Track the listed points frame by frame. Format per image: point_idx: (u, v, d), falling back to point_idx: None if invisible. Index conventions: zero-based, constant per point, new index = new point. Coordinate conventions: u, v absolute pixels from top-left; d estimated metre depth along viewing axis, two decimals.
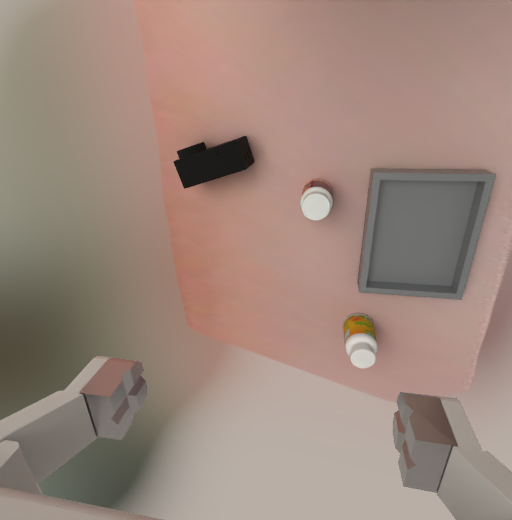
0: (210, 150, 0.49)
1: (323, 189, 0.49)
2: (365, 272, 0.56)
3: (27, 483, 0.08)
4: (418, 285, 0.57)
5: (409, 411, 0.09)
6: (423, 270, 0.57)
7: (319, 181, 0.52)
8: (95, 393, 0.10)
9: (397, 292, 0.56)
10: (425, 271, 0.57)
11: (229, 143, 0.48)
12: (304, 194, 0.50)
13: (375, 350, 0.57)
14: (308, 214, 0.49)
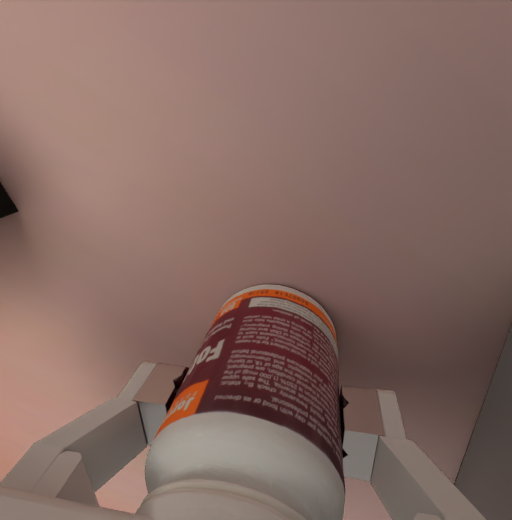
0: None
1: (279, 444, 0.07)
2: None
3: (88, 495, 0.08)
4: None
5: (346, 403, 0.09)
6: None
7: (274, 316, 0.10)
8: (149, 401, 0.09)
9: None
10: None
11: None
12: (156, 455, 0.07)
13: None
14: None
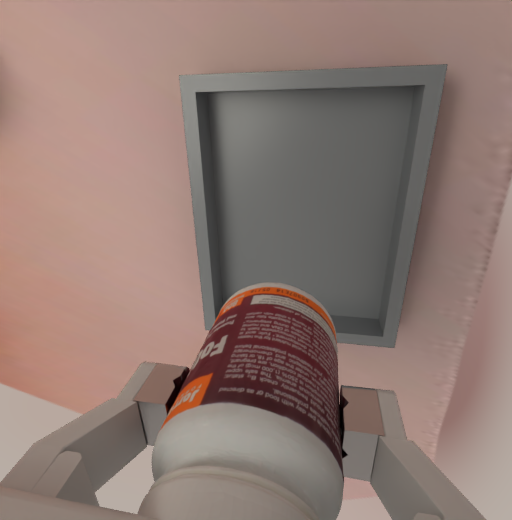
0: None
1: (281, 434, 0.07)
2: (208, 293, 0.29)
3: (88, 495, 0.08)
4: None
5: (346, 403, 0.09)
6: (323, 289, 0.29)
7: (275, 313, 0.11)
8: (149, 400, 0.09)
9: None
10: (329, 291, 0.29)
11: None
12: (163, 445, 0.08)
13: None
14: None
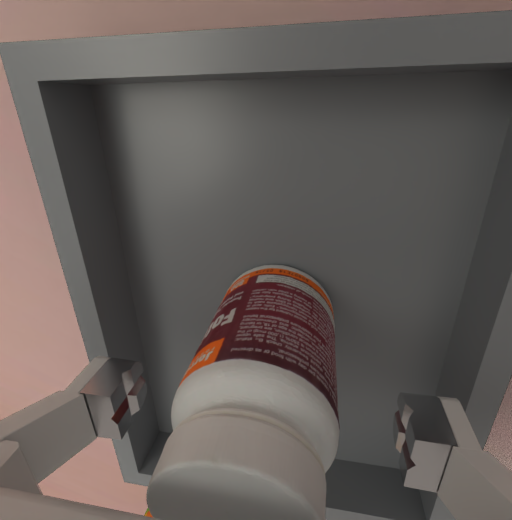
0: None
1: (285, 383, 0.08)
2: None
3: (27, 483, 0.08)
4: None
5: (409, 411, 0.09)
6: None
7: (278, 289, 0.12)
8: (95, 393, 0.10)
9: None
10: None
11: None
12: (182, 397, 0.09)
13: None
14: None
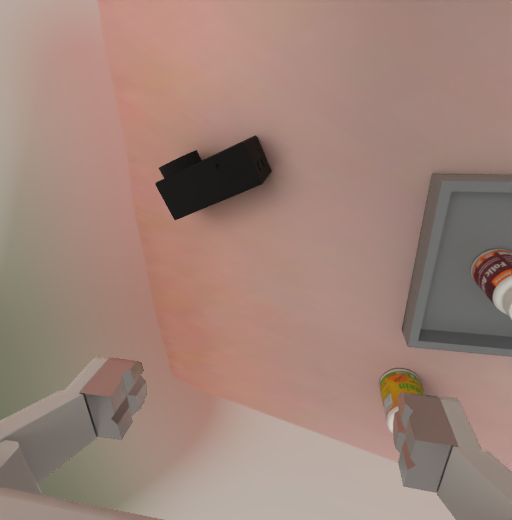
0: (206, 161, 0.33)
1: None
2: (418, 321, 0.39)
3: (27, 483, 0.08)
4: (491, 337, 0.41)
5: (409, 411, 0.09)
6: (499, 317, 0.40)
7: None
8: (95, 393, 0.10)
9: (463, 348, 0.40)
10: (503, 319, 0.40)
11: (233, 148, 0.32)
12: (506, 283, 0.32)
13: None
14: None
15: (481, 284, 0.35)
